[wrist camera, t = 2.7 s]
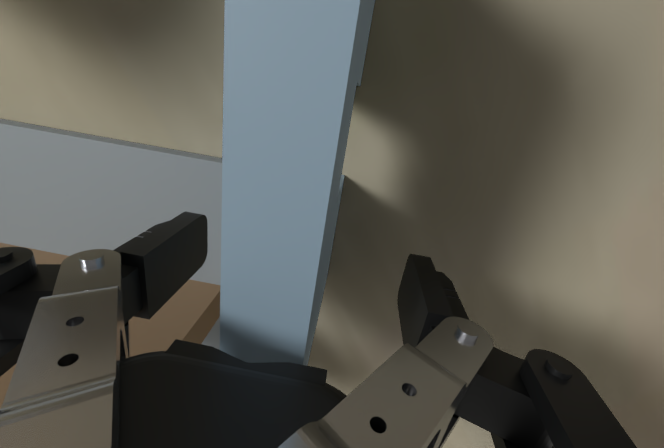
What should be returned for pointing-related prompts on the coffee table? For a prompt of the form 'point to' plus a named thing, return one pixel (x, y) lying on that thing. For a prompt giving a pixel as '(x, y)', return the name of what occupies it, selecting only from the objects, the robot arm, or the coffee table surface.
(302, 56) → the slotted plate
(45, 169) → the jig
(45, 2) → the coffee table surface
